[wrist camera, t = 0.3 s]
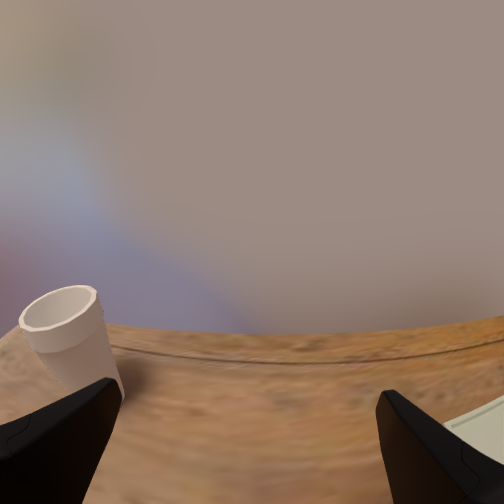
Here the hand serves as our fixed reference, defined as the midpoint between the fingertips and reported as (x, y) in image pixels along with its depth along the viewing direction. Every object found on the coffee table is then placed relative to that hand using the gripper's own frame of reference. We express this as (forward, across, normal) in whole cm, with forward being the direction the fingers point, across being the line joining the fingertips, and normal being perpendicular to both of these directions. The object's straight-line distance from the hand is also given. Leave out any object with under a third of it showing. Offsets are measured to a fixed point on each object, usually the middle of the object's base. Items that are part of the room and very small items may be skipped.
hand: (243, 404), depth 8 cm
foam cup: (+14, +19, +17) cm, 29 cm away
